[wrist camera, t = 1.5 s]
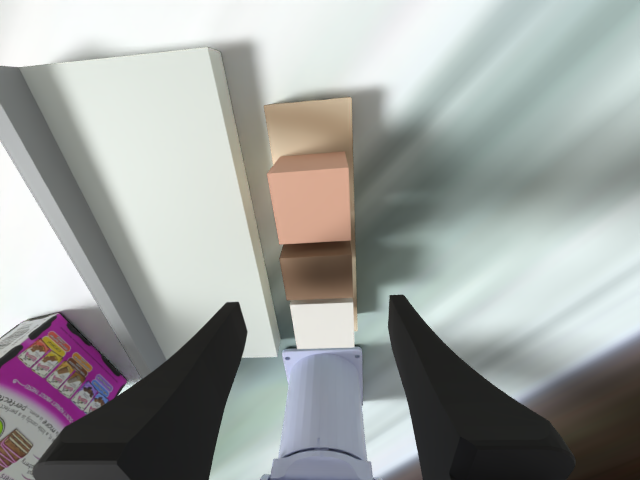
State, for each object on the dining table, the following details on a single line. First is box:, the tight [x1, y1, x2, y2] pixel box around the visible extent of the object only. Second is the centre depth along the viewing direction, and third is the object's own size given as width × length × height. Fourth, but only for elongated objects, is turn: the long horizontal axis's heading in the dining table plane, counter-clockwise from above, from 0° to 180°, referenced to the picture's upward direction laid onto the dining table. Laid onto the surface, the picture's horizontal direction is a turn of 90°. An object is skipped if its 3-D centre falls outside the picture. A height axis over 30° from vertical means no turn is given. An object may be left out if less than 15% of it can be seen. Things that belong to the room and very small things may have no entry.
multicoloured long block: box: [264, 97, 357, 331], centre depth 19 cm, size 18×5×7 cm, turn 5°
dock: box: [0, 47, 281, 379], centre depth 21 cm, size 24×12×4 cm, turn 5°
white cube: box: [290, 298, 354, 349], centre depth 20 cm, size 4×4×4 cm
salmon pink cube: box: [267, 151, 351, 245], centre depth 16 cm, size 4×4×4 cm
